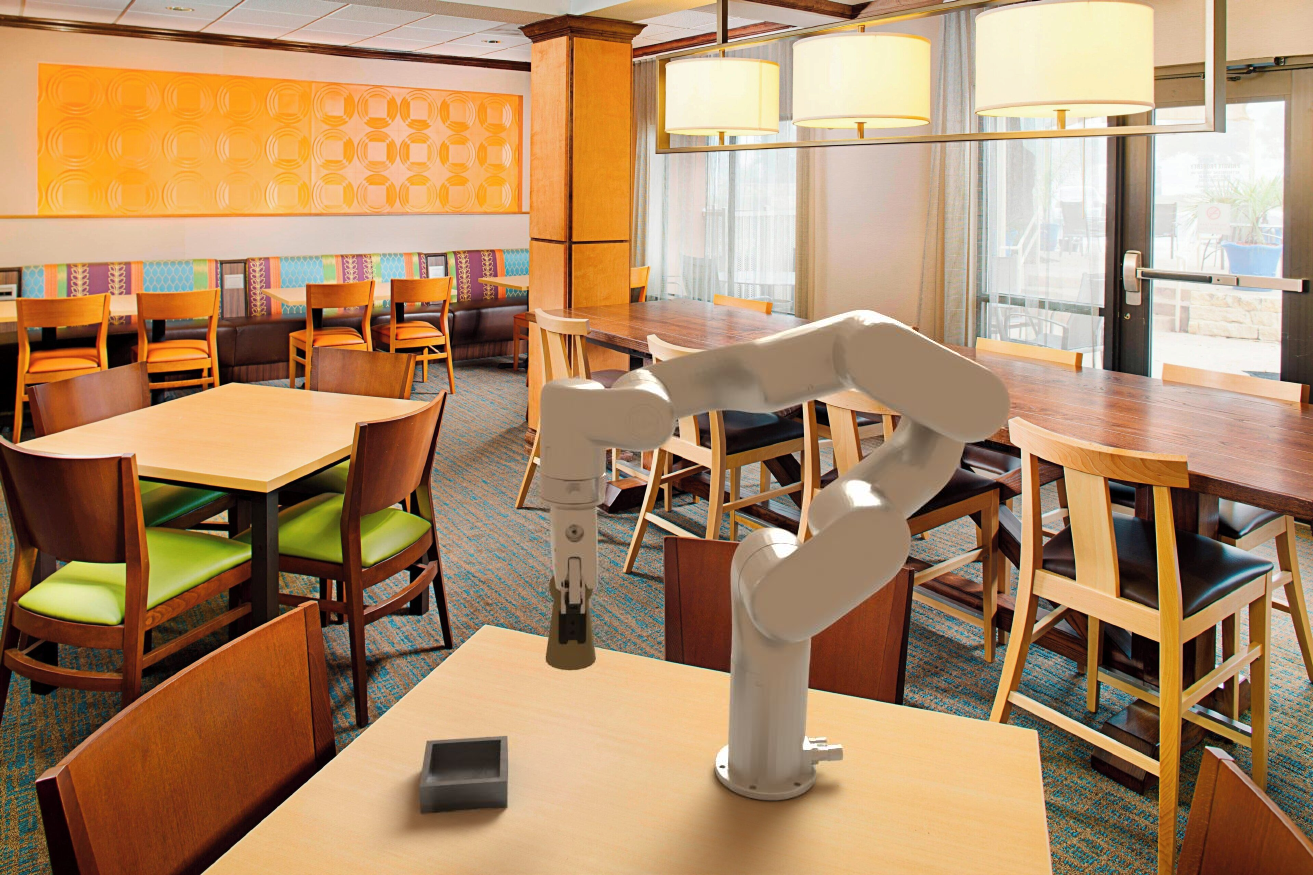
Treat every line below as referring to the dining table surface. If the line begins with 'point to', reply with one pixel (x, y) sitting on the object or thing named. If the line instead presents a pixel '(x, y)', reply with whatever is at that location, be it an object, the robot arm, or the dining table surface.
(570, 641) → the cork
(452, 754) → the socket
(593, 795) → the dining table surface
